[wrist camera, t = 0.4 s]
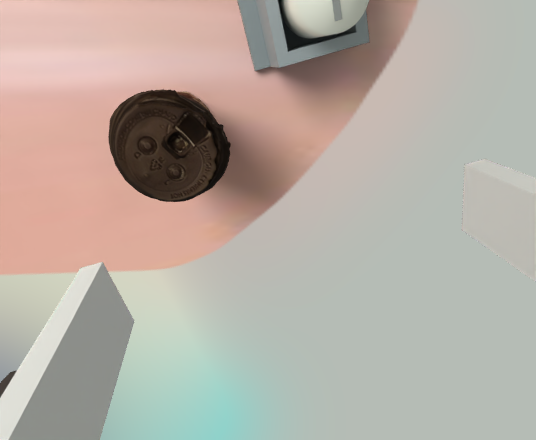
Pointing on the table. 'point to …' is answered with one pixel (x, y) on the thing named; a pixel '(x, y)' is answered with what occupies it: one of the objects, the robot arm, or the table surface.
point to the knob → (321, 16)
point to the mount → (289, 36)
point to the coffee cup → (168, 145)
